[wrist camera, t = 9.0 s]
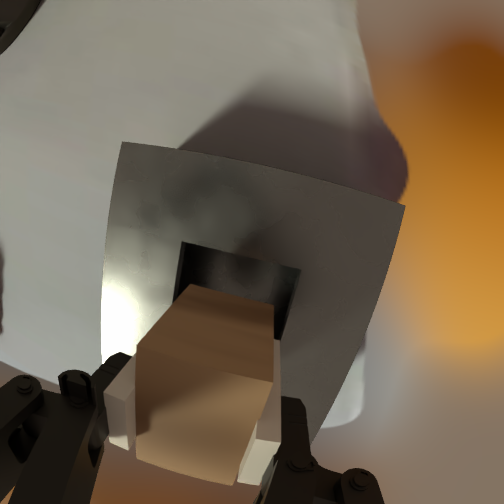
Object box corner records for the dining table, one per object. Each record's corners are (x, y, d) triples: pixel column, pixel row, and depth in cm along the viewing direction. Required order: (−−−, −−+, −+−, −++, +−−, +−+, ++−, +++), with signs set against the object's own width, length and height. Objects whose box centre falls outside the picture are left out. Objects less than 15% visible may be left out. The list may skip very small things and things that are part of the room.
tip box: (169, 155, 22) (122, 141, 14) (363, 200, 22) (405, 205, 14) (142, 347, 26) (104, 394, 18) (302, 387, 26) (309, 447, 18)
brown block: (190, 283, 13) (136, 344, 8) (273, 304, 13) (273, 382, 7) (175, 381, 15) (136, 458, 9) (245, 400, 15) (232, 485, 9)
